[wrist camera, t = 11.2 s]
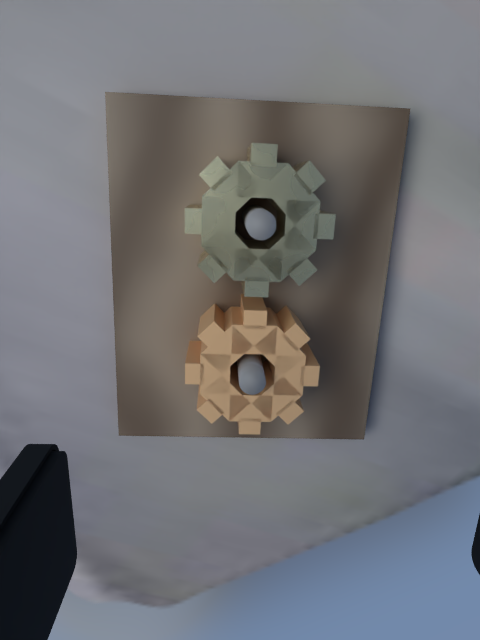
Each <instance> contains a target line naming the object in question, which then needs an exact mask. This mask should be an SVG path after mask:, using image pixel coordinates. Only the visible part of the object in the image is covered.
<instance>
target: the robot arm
mask: <svg viewBox="0 0 480 640" xmlns="http://www.w3.org/2000/svg"><path fill="white" fill-rule="evenodd" d="M76 559H77V547H76V537H75V528H74V518H73V509H72V499H71V489H70V480H69V470H68V460H67V454H66V452H65V451H59V449H58V447H57V445H55V444H28V445H26V446H25V447H24V449H23V450H22V451H21V453H20V454H19V455H18V457H17V458H16V459H15V461H14V462H13V463H12V465H11V466H10V467H9V469H8V470H7V471H6V473H5V474H4V475H3V477H2V478H1V479H0V640H47V639H48V637H49V634H50V632H51V629H52V626H53V624H54V621H55V619H56V616H57V613H58V611H59V608H60V605H61V603H62V600H63V598H64V595H65V593H66V590H67V588H68V585H69V582H70V580H71V577H72V575H73V572H74V569H75V565H76ZM472 560H473V563H474V566H475V568H476V569H477V571H478V573H479V574H480V515H479V519H478V524H477V528H476V532H475V537H474V541H473V546H472Z"/></svg>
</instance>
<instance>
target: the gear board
mask: <svg viewBox="0 0 480 640" xmlns="http://www.w3.org/2000/svg"><path fill="white" fill-rule="evenodd" d="M105 99H106V124H107V149H108V174H109V200H110V225H111V250H112V275H113V301H114V326H115V351H116V376H117V401H118V427H119V435H120V436H183V437H247V438H310V439H364V435H365V428H366V421H367V414H368V407H369V400H370V393H371V386H372V378H373V371H374V364H375V357H376V350H377V343H378V336H379V328H380V321H381V314H382V307H383V300H384V293H385V286H386V279H387V271H388V264H389V257H390V250H391V243H392V236H393V229H394V221H395V214H396V207H397V200H398V193H399V186H400V179H401V172H402V164H403V157H404V150H405V143H406V136H407V129H408V122H409V114H410V109H406V108H388V107H370V106H351V105H333V104H315V103H297V102H279V101H260V100H242V99H224V98H206V97H188V96H169V95H151V94H133V93H115V92H105ZM251 143H266V144H278V150H277V163H289V164H290V165H291V167H292V168H293V167H294V166H295V165H296V164H297V163H301V162H305V161H309V160H310V161H311V163H312V164H313V165H314V166H315V167H316V169H317V170H318V171H319V172H320V174H321V175H322V176H323V177H324V179H325V180H326V181H325V182H324V183H323V184H322V185H320V186H319V187H318V188H317V189H316V190H315V191H314V192H313V193H314V194H315V195H316V197H317V198H318V199H319V200H320V210H322V211H326V212H330V213H333V214H336V218H335V228H334V238H333V239H317V245H316V251H315V252H314V253H313V254H311V255H310V256H309V257H308V260H309V261H310V262H311V263H312V264H313V265H314V266H315V268H316V269H317V271H316V272H315V273H314V274H312V275H311V276H310V277H309V278H308V279H307V280H306V281H304V282H303V283H302V284H301V285H300V286H299V285H298V284H297V283H296V282H295V281H294V280H293V279H292V278H291V276H290V275H288V276H287V277H286V278H284V279H283V280H282V281H281V282H269V292H268V297H262V298H263V300H264V303H265V306H266V307H269V308H271V309H272V310H273V311H274V312H275V313H276V314H277V313H278V312H279V311H280V310H281V309H282V308H284V307H285V306H287V307H288V308H289V309H290V310H291V311H292V312H293V313H294V314H295V315H296V316H297V317H298V318H299V320H300V321H301V323H302V325H303V327H304V328H305V330H306V332H307V334H308V335H309V337H310V340H309V341H308V342H307V343H308V345H309V347H310V349H311V351H312V352H313V354H314V356H315V358H316V360H317V362H318V363H319V365H320V370H319V380H318V386H303V396H301V397H300V401H301V404H302V407H303V409H304V412H303V413H302V414H300V415H299V416H298V417H297V418H296V419H294V420H293V421H292V422H291V423H290V424H287V423H286V422H285V421H284V420H282V419H281V418H280V417H279V416H277V417H276V418H275V419H274V420H273V421H271V422H261V429H260V434H239V430H238V421H228V420H227V419H226V418H225V417H224V416H223V415H222V416H220V417H219V418H218V419H217V420H216V421H215V422H213V423H212V424H211V423H210V422H209V421H208V420H207V419H206V418H205V417H204V416H203V415H202V414H200V413H199V412H198V411H197V401H198V391H199V384H185V361H186V356H187V351H188V346H189V341H201V340H200V339H199V338H198V337H197V335H198V329H199V322H200V317H201V316H202V315H203V314H204V313H205V312H206V311H207V310H208V309H209V308H210V307H211V306H213V305H214V304H216V305H217V306H218V307H219V308H220V309H221V310H222V311H223V312H226V311H227V310H228V309H229V308H230V307H240V305H241V294H244V293H243V288H242V283H241V281H234V280H233V279H232V278H231V277H230V276H229V275H228V274H227V273H225V274H224V275H223V276H222V277H221V278H219V279H218V280H217V281H216V282H215V283H213V282H212V280H211V279H210V278H209V277H208V276H207V275H206V274H205V273H204V272H203V271H202V270H201V269H200V268H199V267H198V266H197V265H198V261H199V258H200V254H201V253H203V252H204V251H205V250H204V249H203V248H202V246H201V234H185V207H187V206H188V205H190V204H193V205H202V196H203V195H204V194H205V193H206V192H207V191H208V190H209V189H210V186H209V185H208V184H207V183H206V182H205V181H204V180H203V179H202V178H201V176H200V175H199V174H200V173H201V172H202V171H203V170H204V169H205V168H206V167H207V166H208V165H209V164H210V163H211V162H212V161H213V160H214V159H215V158H216V157H217V156H218V157H219V158H220V159H221V160H222V161H223V163H224V164H225V165H226V166H227V167H228V168H229V169H231V168H232V167H233V166H234V165H235V164H236V163H237V162H238V161H247V148H248V147H249V145H250V144H251ZM276 216H277V209H276V208H275V207H274V206H273V205H272V204H271V203H270V201H269V200H268V199H267V198H250V199H249V200H248V201H247V202H246V203H245V204H244V205H243V206H242V207H241V208H240V209H239V210H238V211H236V216H235V229H236V230H237V232H238V233H239V234H240V235H241V236H242V237H243V238H244V239H245V240H266V239H268V238H270V237H271V236H272V235H273V234H274V232H275V230H276ZM266 360H267V358H266V357H265V356H264V355H263V354H244V355H242V356H241V357H240V358H239V359H238V360H237V361H236V362H235V363H234V364H235V365H236V366H237V367H238V377H239V386H240V388H241V390H242V391H243V392H245V393H246V394H250V395H255V394H258V393H260V392H261V391H262V390H263V389H264V388H265V385H266V378H265V374H264V370H263V365H262V363H264V362H265V361H266Z"/></svg>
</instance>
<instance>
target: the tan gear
mask: <svg viewBox="0 0 480 640" xmlns="http://www.w3.org/2000/svg"><path fill="white" fill-rule="evenodd" d="M197 337H198V338H199V339H200V340H201V341H189V346H188V351H187V356H186V361H185V384H199V391H198V401H197V411H198V412H199V413H200V414H202V415H203V416H204V417H205V418H206V419H207V420H208V421H209V422H210V423H211V424H212V423H213V422H215V421H216V420H217V419H218V418H219V417H220V416H222V415H223V416H224V417H225V418H226V419H227V420H228V421H238V430H239V434H260V429H261V422H271V421H273V420H274V419H275V418H276V417H277V416H279V417H280V418H281V419H282V420H284V421H285V422H286V423H287V424H290V423H291V422H292V421H293V420H294V419H296V418H297V417H298V416H299V415H300V414H302V413H303V412H304V409H303V407H302V404H301V401H300V397H301V396H303V386H318V380H319V370H320V365H319V363H318V362H317V360H316V358H315V356H314V354H313V352H312V351H311V349H310V347H309V345H308V343H307V342H308V341H309V340H310V337H309V335H308V334H307V332H306V330H305V328H304V327H303V325H302V323H301V321H300V320H299V318H298V317H297V316H296V315H295V314H294V313H293V312H292V311H291V310H290V309H289V308H288V307H287V306H285V307H284V308H282V309H281V310H280V311H279V312H278V313H277V314H276V313H275V312H274V311H273V310H272V309H271V308H269V307H266V306H265V303H264V300H263V298H262V297H244V294H241V305H240V307H230V308H229V309H228V310H227V311H226V312H223V311H222V310H221V309H220V308H219V307H218V306H217V305H216V304H214V305H213V306H211V307H210V308H209V309H208V310H207V311H206V312H205V313H204V314H203V315H202V316H201V317H200V322H199V329H198V335H197ZM244 354H263V355H264V356H265V357H266V358H267V360H266V361H265V362H264V363H262V365H263V370H264V374H265V378H266V385H265V388H264V389H263V390H262V391H261V392H260V393H258V394H255V395H250V394H246V393H245V392H243V391H242V390H241V388H240V386H239V377H238V367H237V366H236V365H235V364H234V363H235V362H236V361H237V360H238V359H239V358H240V357H241V356H242V355H244Z"/></svg>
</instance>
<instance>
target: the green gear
mask: <svg viewBox="0 0 480 640" xmlns="http://www.w3.org/2000/svg"><path fill="white" fill-rule="evenodd" d="M277 150H278V144H266V143H251V144H250V145H249V147H248V148H247V161H238V162H237V163H236V164H235V165H234V166H233V167H232V168H231V169H229V168H228V167H227V166H226V165H225V164H224V163H223V161H222V160H221V159H220V158H219V157H218V156H217V157H216V158H215V159H214V160H213V161H212V162H211V163H210V164H209V165H208V166H207V167H206V168H205V169H204V170H203V171H202V172H201V173H200V174H199V175H200V176H201V178H202V179H203V180H204V181H205V182H206V183H207V184H208V185H209V186H210V189H209V190H208V191H207V192H206V193H205V194H204V195H203V196H202V205H193V204H190V205H188V206H187V207H185V234H201V246H202V248H203V249H204V250H205V251H204V252H203V253H201V254H200V258H199V261H198V265H197V266H198V267H199V268H200V269H201V270H202V271H203V272H204V273H205V274H206V275H207V276H208V277H209V278H210V279H211V280H212V282H213V283H215V282H216V281H217V280H218V279H219V278H221V277H222V276H223V275H224V274H225V273H227V274H228V275H229V276H230V277H231V278H232V279H233V280H234V281H241V283H242V288H243V293H244V297H268V292H269V282H281V281H282V280H283V279H284V278H286V277H287V276H288V275H290V276H291V278H292V279H293V280H294V281H295V282H296V283H297V284H298V285H299V286H300V285H301V284H302V283H303V282H304V281H306V280H307V279H308V278H309V277H310V276H311V275H312V274H314V273H315V272H316V271H317V269H316V268H315V266H314V265H313V264H312V263H311V262H310V261H309V260H308V257H309V256H310V255H311V254H313V253H314V252H315V251H316V245H317V239H333V238H334V228H335V218H336V214H333V213H330V212H326V211H322V210H320V200H319V199H318V198H317V197H316V195H315V194H314V193H313V192H314V191H315V190H316V189H317V188H318V187H319V186H320V185H322V184H323V183H324V182H325V181H326V180H325V179H324V177H323V176H322V175H321V174H320V172H319V171H318V170H317V169H316V167H315V166H314V165H313V164H312V163H311V161H310V160H309V161H305V162H301V163H297V164H296V165H295V166H294V167H293V168H292V167H291V165H290V164H289V163H277ZM250 198H267V199H268V200H269V201H270V203H271V204H272V205H273V206H274V207H275V208H276V209H277V216H276V230H275V232H274V234H273V235H272V236H271V237H270V238H268V239H266V240H245V239H244V238H243V237H242V236H241V235H240V234H239V233H238V232H237V230H236V229H235V216H236V211H238V210H239V209H240V208H241V207H242V206H243V205H244V204H245V203H246V202H247V201H248V200H249V199H250Z"/></svg>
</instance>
